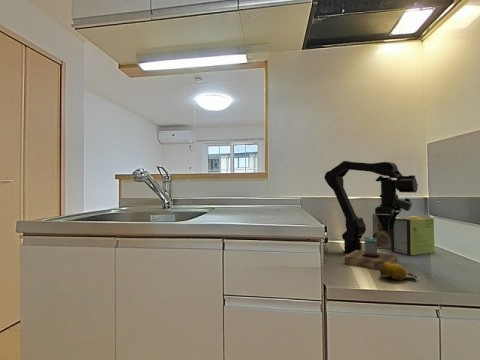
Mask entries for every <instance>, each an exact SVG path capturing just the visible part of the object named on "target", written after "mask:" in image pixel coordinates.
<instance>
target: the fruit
mask: <svg viewBox="0 0 480 360" xmlns="http://www.w3.org/2000/svg"><path fill="white" fill-rule="evenodd" d="M379 273H380V274H379V275H380V277H382V276H383V277H385V276H388V277H390V278H392V279H394V280H398V281H399V280H400V281H402V280H405V279H406V276H407V275H408V276H410V277H412V278H413V277H414V278H413V279H416V278H418V274H415V273H414V274H413V273H411V272H409V271H406V270H405V268H404V267H403V266H402V265H401V264H399V263H397V264H395V263H393V262H385V263H383V264H382V266H381V268H380V269H379Z"/></svg>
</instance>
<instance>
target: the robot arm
mask: <svg viewBox="0 0 480 360" xmlns="http://www.w3.org/2000/svg"><path fill="white" fill-rule="evenodd" d="M350 170H351V171H359V172H360V171H361V172H371V173H374V174H377V175H378V177H377V178H375V182H380V194H379V198H380V203H381V204H379V206H377V207H376V208H375V209H374V214H376V215H377V217H378V218H379V220H380V222H381V224H382V226H383V228H384V230H385V231H388V227H389V226H390V228H392V229H393V227H394V223H395V219H396V217H397V216H398V215H400V214H401V212H402V210H404V211H406V212H409V211H411V208H412V206H413V202H412V201H411V199H410V198H408V197H406V198H404V199H401V198H399V195H398V194H397V191H398V192H399V193H417V191H418V187H419V185H418V182H417V178H416V175H415V174H413V175H411V174H410V175H403V174H402V173H401V172H400V170H399V169H398V166H397V164H396V163H394V162H391V161H382V162H373V163H370V162H369V163H368V162H356V161H350V160H343V161H342V162H340V163H339V164H338V165H336V166H334V167H333V168H331V170H327V172H325V174H324V180H325V182H326V184H327V186H329V187H330V188H331V189H332V191H333V193H334V195H335V197H336V199H337V201H338V204H339V206H340V209H341V211H342V214H343V216H344V218H345V228H346V230H345V231H344V232H343V233H342V234H341V238H342V240H343V242H344V243H343V246H344V251H343V252H342V253H344V254H350V253H351V252H353V251H355V250H361V251H363V249H362V245H363V243H362V242H361V239H362V238H363V235H364V234H365V233H366V231H367V230H366V227H367V225H366V223H365V221H364V218H363V217H359V216H357V214H356V212H355V210H354V208H353V206H352V203H351V201H350V198H349V197H348V194H347V192H346V189H345V186H344V177H345V176H346V175H347V174H348V173H349V171H350ZM384 176H385V177H384ZM386 176H387V177H386Z"/></svg>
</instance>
